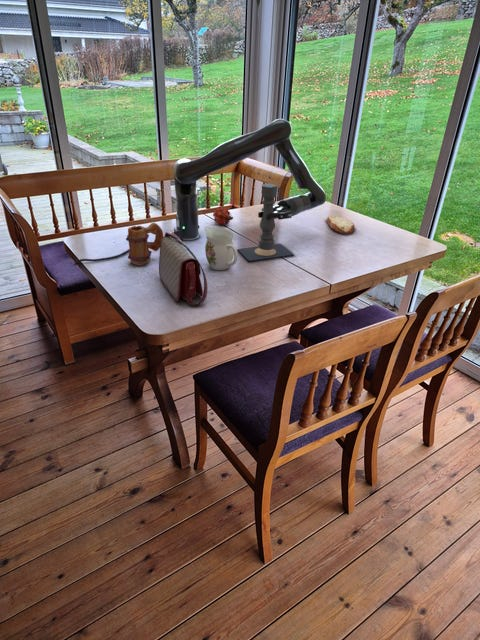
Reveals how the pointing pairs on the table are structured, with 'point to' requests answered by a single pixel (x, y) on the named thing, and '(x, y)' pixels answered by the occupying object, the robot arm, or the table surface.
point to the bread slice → (340, 225)
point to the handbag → (180, 270)
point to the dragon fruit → (222, 215)
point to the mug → (143, 242)
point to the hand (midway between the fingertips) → (263, 216)
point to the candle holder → (266, 225)
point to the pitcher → (220, 248)
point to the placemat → (264, 253)
